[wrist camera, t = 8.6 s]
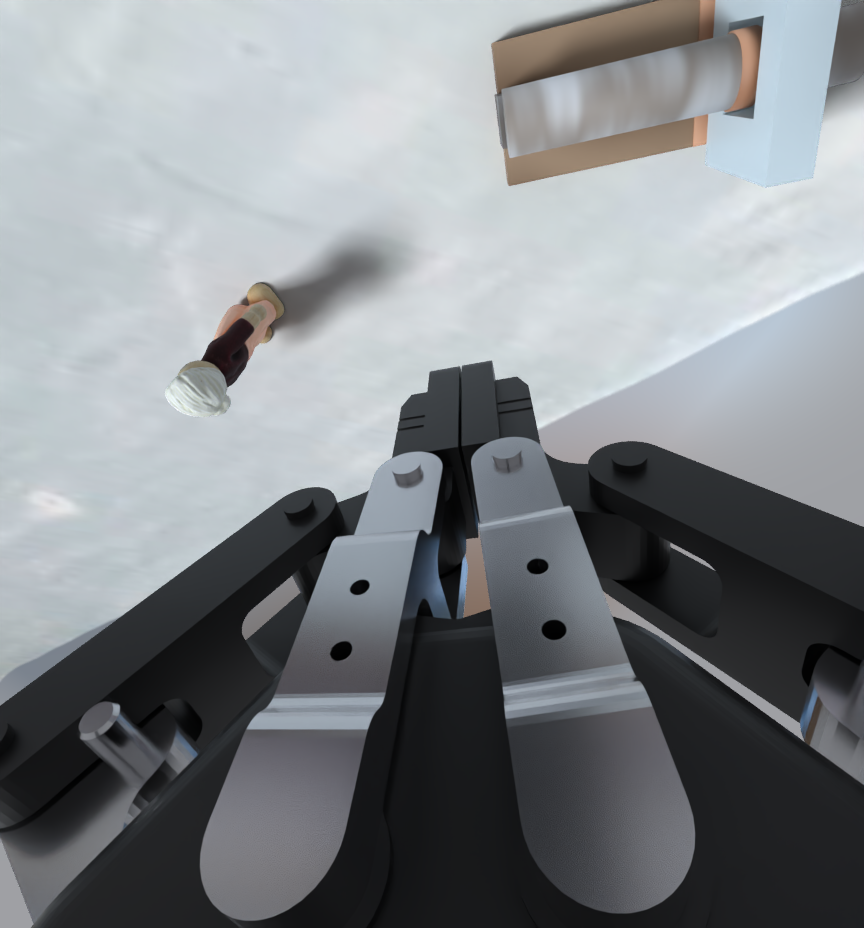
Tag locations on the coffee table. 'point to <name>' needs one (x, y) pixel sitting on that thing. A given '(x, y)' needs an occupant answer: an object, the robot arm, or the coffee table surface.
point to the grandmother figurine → (225, 355)
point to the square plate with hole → (776, 91)
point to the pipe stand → (632, 84)
